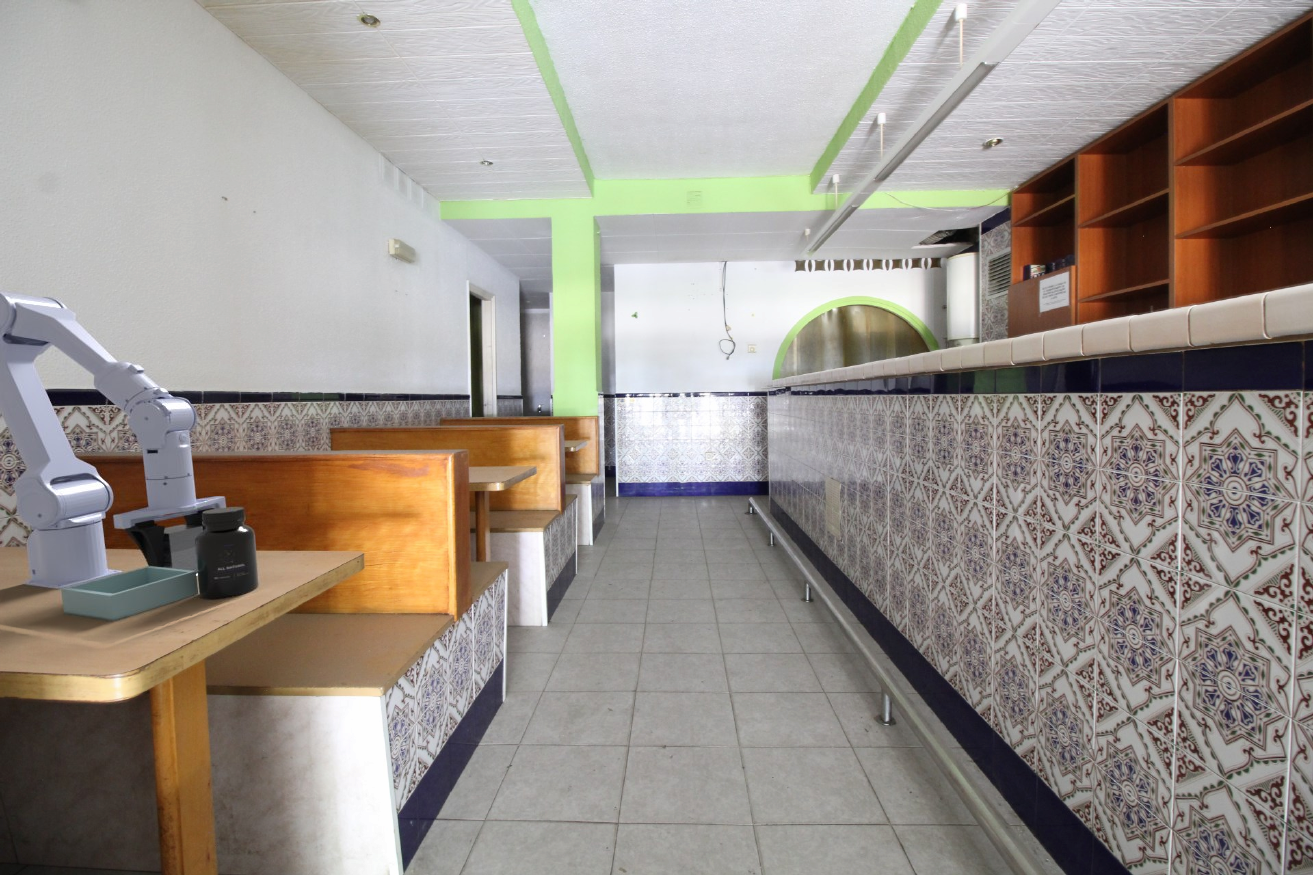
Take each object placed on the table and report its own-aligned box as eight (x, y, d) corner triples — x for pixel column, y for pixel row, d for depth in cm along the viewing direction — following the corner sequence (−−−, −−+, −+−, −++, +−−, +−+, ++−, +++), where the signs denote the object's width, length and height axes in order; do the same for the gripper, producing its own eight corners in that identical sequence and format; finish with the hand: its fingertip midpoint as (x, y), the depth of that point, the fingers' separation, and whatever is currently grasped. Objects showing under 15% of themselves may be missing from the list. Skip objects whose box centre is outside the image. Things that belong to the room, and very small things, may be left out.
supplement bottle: (229, 603, 80) (220, 515, 79) (187, 601, 81) (177, 515, 80) (271, 586, 87) (263, 505, 86) (232, 584, 88) (224, 504, 87)
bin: (64, 615, 77) (61, 589, 77) (151, 590, 87) (148, 565, 86) (113, 623, 74) (110, 595, 74) (198, 596, 83) (196, 571, 83)
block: (152, 577, 91) (147, 531, 90) (186, 568, 96) (181, 524, 95) (173, 580, 90) (168, 533, 89) (207, 570, 94) (202, 525, 93)
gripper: (132, 485, 83) (142, 580, 84) (235, 470, 97) (243, 552, 98) (100, 484, 85) (111, 576, 87) (205, 469, 99) (213, 549, 100)
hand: (179, 563), depth 92 cm, fingers open, 6 cm apart
